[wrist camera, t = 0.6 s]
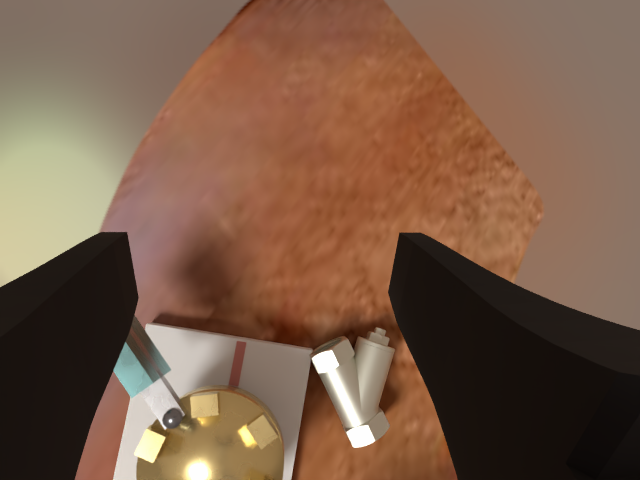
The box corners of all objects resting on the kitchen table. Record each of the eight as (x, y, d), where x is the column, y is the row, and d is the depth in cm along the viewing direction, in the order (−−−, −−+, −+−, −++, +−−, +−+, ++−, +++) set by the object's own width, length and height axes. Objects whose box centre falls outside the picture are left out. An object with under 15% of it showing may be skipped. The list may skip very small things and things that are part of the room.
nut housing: (279, 542, 34) (277, 579, 30) (109, 519, 33) (83, 553, 29) (312, 348, 36) (314, 356, 32) (151, 322, 35) (132, 327, 31)
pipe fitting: (373, 317, 37) (306, 352, 36) (386, 319, 33) (312, 358, 32) (412, 398, 36) (346, 436, 35) (430, 410, 33) (357, 453, 31)
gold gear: (310, 468, 30) (313, 498, 26) (197, 557, 29) (181, 603, 25) (175, 270, 31) (157, 269, 27) (59, 349, 30) (21, 360, 26)
